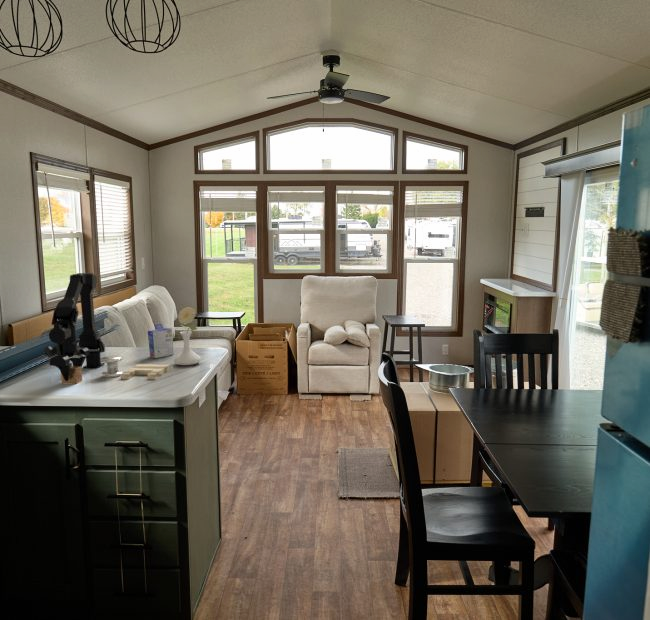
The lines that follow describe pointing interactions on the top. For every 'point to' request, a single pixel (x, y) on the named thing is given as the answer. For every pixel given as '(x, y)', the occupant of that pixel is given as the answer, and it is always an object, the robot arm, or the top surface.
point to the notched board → (146, 370)
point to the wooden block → (73, 375)
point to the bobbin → (112, 366)
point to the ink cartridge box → (160, 342)
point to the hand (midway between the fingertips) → (71, 378)
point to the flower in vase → (187, 339)
